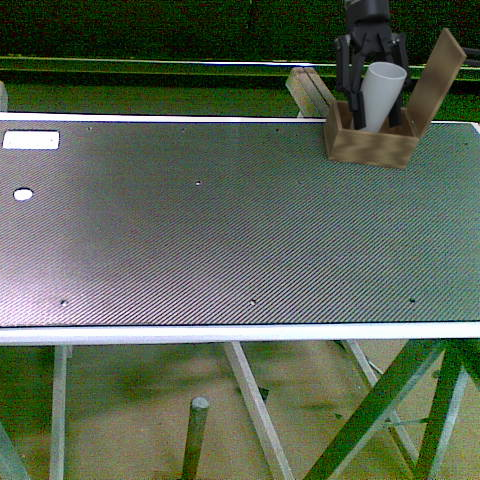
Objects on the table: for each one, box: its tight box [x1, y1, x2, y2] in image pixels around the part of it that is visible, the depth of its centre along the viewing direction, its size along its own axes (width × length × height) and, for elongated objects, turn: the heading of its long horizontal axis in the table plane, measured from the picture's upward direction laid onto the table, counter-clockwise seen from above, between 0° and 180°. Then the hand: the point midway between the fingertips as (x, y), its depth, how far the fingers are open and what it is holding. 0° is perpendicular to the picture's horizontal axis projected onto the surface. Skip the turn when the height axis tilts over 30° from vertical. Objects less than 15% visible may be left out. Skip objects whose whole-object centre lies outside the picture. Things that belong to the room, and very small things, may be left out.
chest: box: [322, 99, 421, 170], centre depth 94 cm, size 15×12×7 cm
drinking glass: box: [349, 61, 407, 133], centre depth 90 cm, size 7×7×15 cm
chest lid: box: [405, 27, 480, 139], centre depth 85 cm, size 15×12×10 cm
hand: (378, 127), depth 89 cm, fingers closed on drinking glass, 7 cm apart
